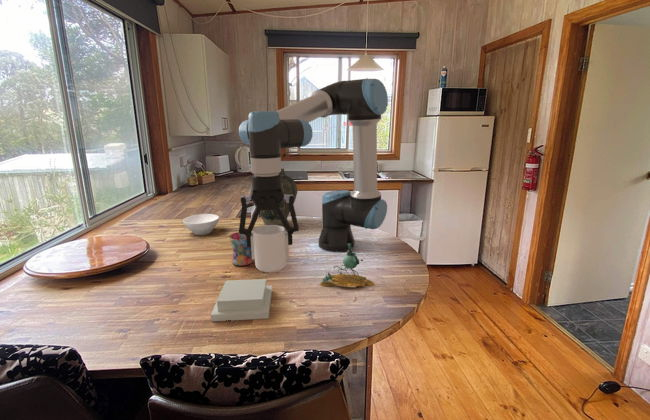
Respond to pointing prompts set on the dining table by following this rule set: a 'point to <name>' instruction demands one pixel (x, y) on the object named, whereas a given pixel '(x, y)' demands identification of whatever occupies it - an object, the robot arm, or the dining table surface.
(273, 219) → the vase
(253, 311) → the plinth
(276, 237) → the mug
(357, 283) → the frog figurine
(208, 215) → the bowl
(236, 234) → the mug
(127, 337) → the dining table surface
